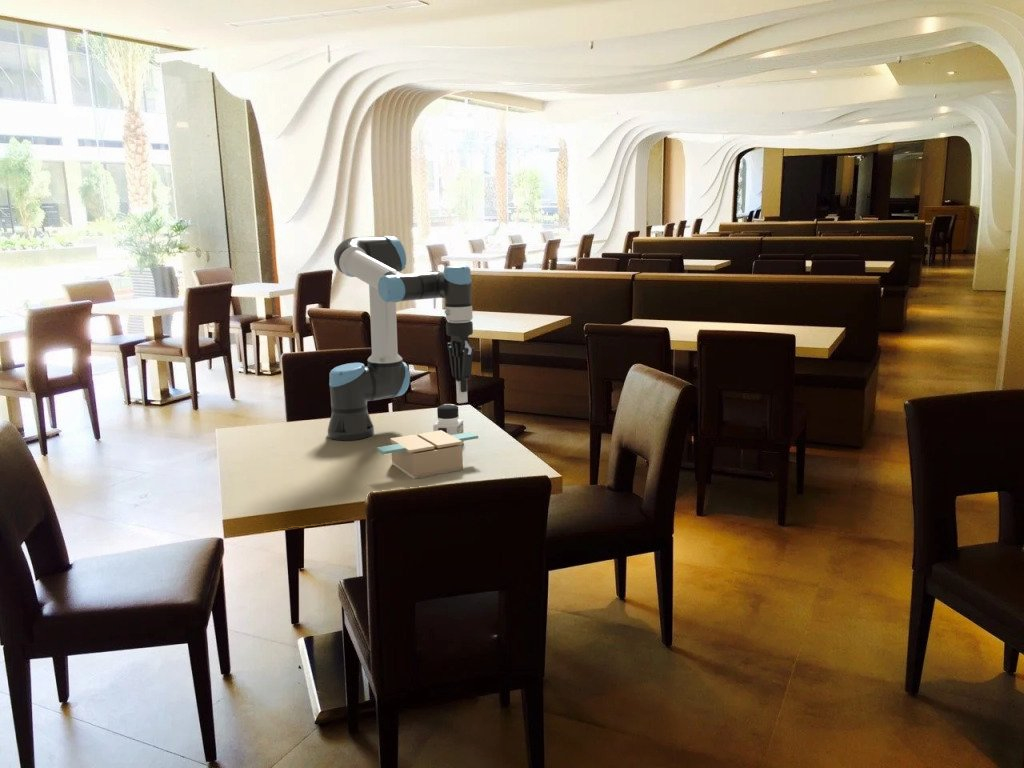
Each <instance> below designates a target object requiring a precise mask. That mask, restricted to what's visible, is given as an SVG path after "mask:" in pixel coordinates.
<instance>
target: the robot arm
mask: <svg viewBox="0 0 1024 768" xmlns="http://www.w3.org/2000/svg"><path fill="white" fill-rule="evenodd" d="M333 261H334V265H335V267H336V268H337V270H338V271H339V272H341V274H344V275H345V276H347V277H349V278H357V279H359V280H360V281H362V282H364V283H366V284H367V285H368V291H369V295H368V296H369V316H370V317H369V319H370V338H371V339H370V341H371V342H370V344H371V355H370V356H369V357H368V358H367V366H365V364H364V363H362V362H350V363H345V364H341V365H338V366H335V367H334V368H333V369H330V372H329V380H328V381H329V383H328V385H329V392H330V393H329V394H330V405H331V406H330V407H331V416H330V420H329V424H328V426H327V427H328V428H327V437H328V439H331V440H336V441H355V440H361V439H362V440H363V439H366V438H369V437H372V436H373V435H374V434H375V426H374V424H373V421H372V419H371V416H370V414H369V412H368V402H370V401H379V400H383V399H393V398H395V397H400V396H403V395H404V394H406V392H407V391H408V388H409V386H410V380H411V374H410V370H409V366H408V364H407V363H406V362H404V361H403V357H402V356H401V355H400V354H399V352H398V349H399V348H398V328H397V327H398V326H397V325H398V323H397V321H398V319H397V303H398V302H407V301H409V302H410V301H418V300H419V301H420V300H428V299H429V300H430V299H431V300H432V299H444V300H445V301H444V302H445V303H444V304H445V310H444V314H445V319H446V321H447V322H446V323H445V327H446V328H445V330H446V332H445V333H446V335H447V336H449V337H450V342H447V343H446V347H447V350H448V355H449V362H450V363H449V365H450V371H451V376H452V377H454V379H455V380H454V381H455V385H456V387H455V388H456V389H455V390H456V403H458V404H464V403H468V380H472V379H471V377H472V366H473V358H474V356H473V355H474V352H475V348H474V347H473V346H472V347H471V346H470V339H469V336H472V335H473V333H474V326H473V325H474V323H473V321H472V320H473V319H474V318H473V317H474V316H473V300H472V299H473V296H472V291H473V290H472V282H473V280H472V275H471V273H472V272H471V269H470V268H471V267H469V266H467V265H447V266H444V270H443V271H439V270H431V271H427V272H417V273H402V271H404V270H405V268H406V266H407V254H406V250H405V248H404V245H403V244H402V242H401V240H399V238H397V237H396V236H392V235H391V236H390V235H374V236H373V235H372V236H353V237H349V238H347V239H344V240H343V241H341V242H340V243H339V244H338V245H337V247H336V249H335V250H334V254H333Z"/></svg>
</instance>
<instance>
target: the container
mask: <svg viewBox="0 0 1024 768" xmlns="http://www.w3.org/2000/svg"><path fill="white" fill-rule="evenodd" d="M436 409H437V410H436V412H437V413H436V414H437V421H436V422H435V423H434V424H433V425H432V427H433V431H439V430H442V431H444V432H446V433H447V434H449V435H455V434H461V433H465V432H464V419H462V418H461V419H459V406H458V405H456V404H452V403H445V404H440V405H438V407H437V408H436ZM433 431H432V432H433ZM464 443H465V441H462V444H459V445H461V446H462V445H463V444H464Z"/></svg>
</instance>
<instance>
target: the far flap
mask: <svg viewBox="0 0 1024 768" xmlns="http://www.w3.org/2000/svg"><path fill="white" fill-rule="evenodd" d="M417 436H418V437H420V438H421V439H423V440H425V441H427V442H428V443H430V444H432V445H434V446H435V447H437V448H442V447H448V446H453V445H459V444H462V441H464V442H465V441H471V440H477V439H479V435H478V434H476V433H474V432H472V431H467V432H464V433H461V434H455V435H449V434H447V433H446V432H444V431H442V430H439V431H429V432H428V431H427V432H422V433H417ZM462 445H463V444H462Z"/></svg>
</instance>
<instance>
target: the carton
mask: <svg viewBox="0 0 1024 768" xmlns="http://www.w3.org/2000/svg"><path fill="white" fill-rule="evenodd" d="M390 445H394V443H393V442H391V441H390ZM434 447H435V446H434ZM463 459H464V458H463V446H462V445H453V446H448V447H442V448H437V447H435V449H430V450H424V451H419V452H413V453H408V452H407V451H401V452H395V453H391V464H392V465H393V466H395V467H396V468H398V469H399V470H401V472H403V473H404V474H406V475H407V476H409V477H410V478H412V479H413V480H417V479H422V478H428V477H433V476H438V475H442V474H449V473H453V472H458V471H463V470H464V461H463Z"/></svg>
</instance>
